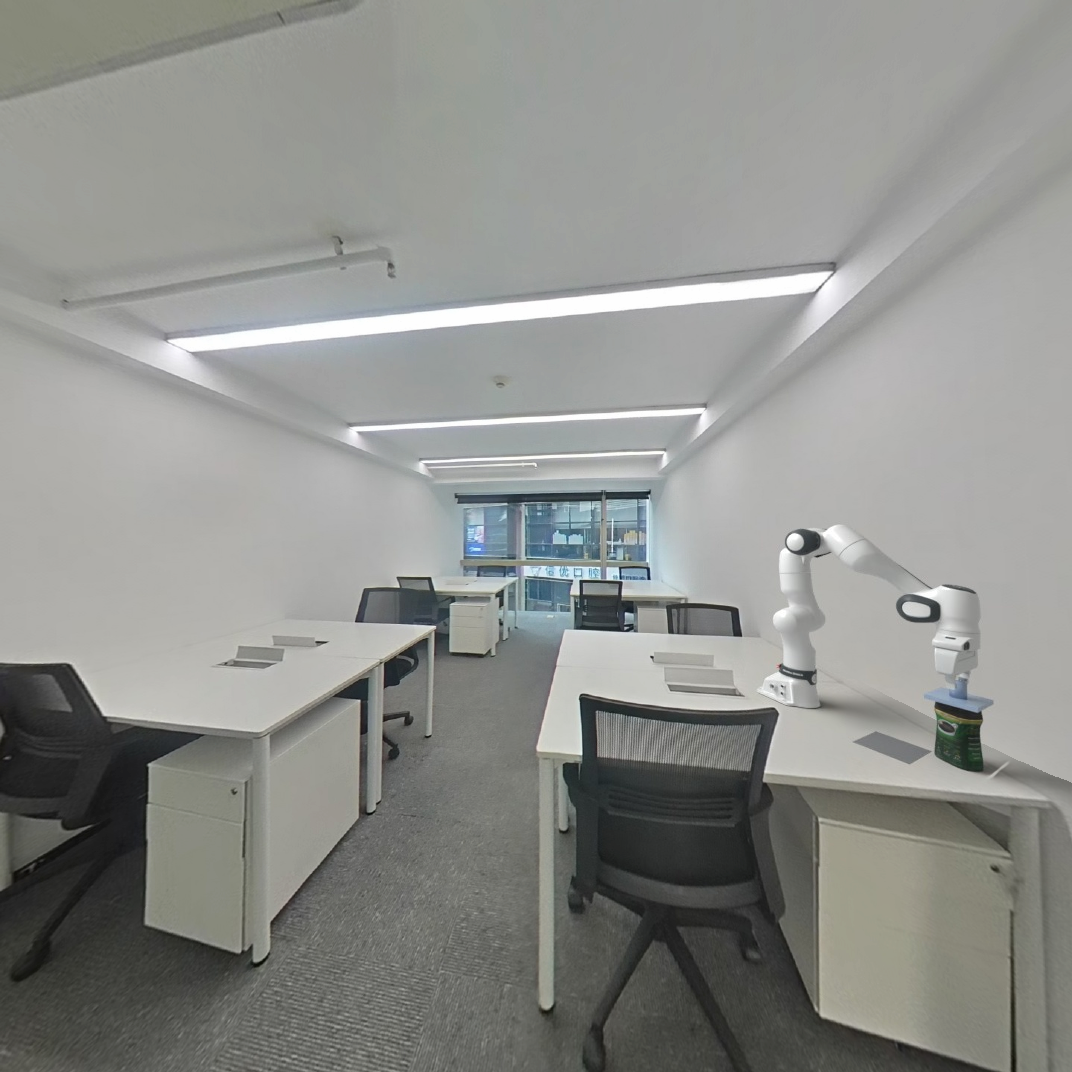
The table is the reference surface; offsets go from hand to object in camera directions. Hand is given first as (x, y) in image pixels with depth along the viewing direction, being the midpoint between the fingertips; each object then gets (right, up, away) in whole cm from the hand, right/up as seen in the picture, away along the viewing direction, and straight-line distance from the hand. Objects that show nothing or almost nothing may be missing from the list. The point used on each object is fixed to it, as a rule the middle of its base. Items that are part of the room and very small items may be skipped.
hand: (957, 686), depth 115 cm
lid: (0, -4, 0) cm, 4 cm away
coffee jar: (0, -23, 0) cm, 23 cm away
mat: (-12, -23, +8) cm, 27 cm away
